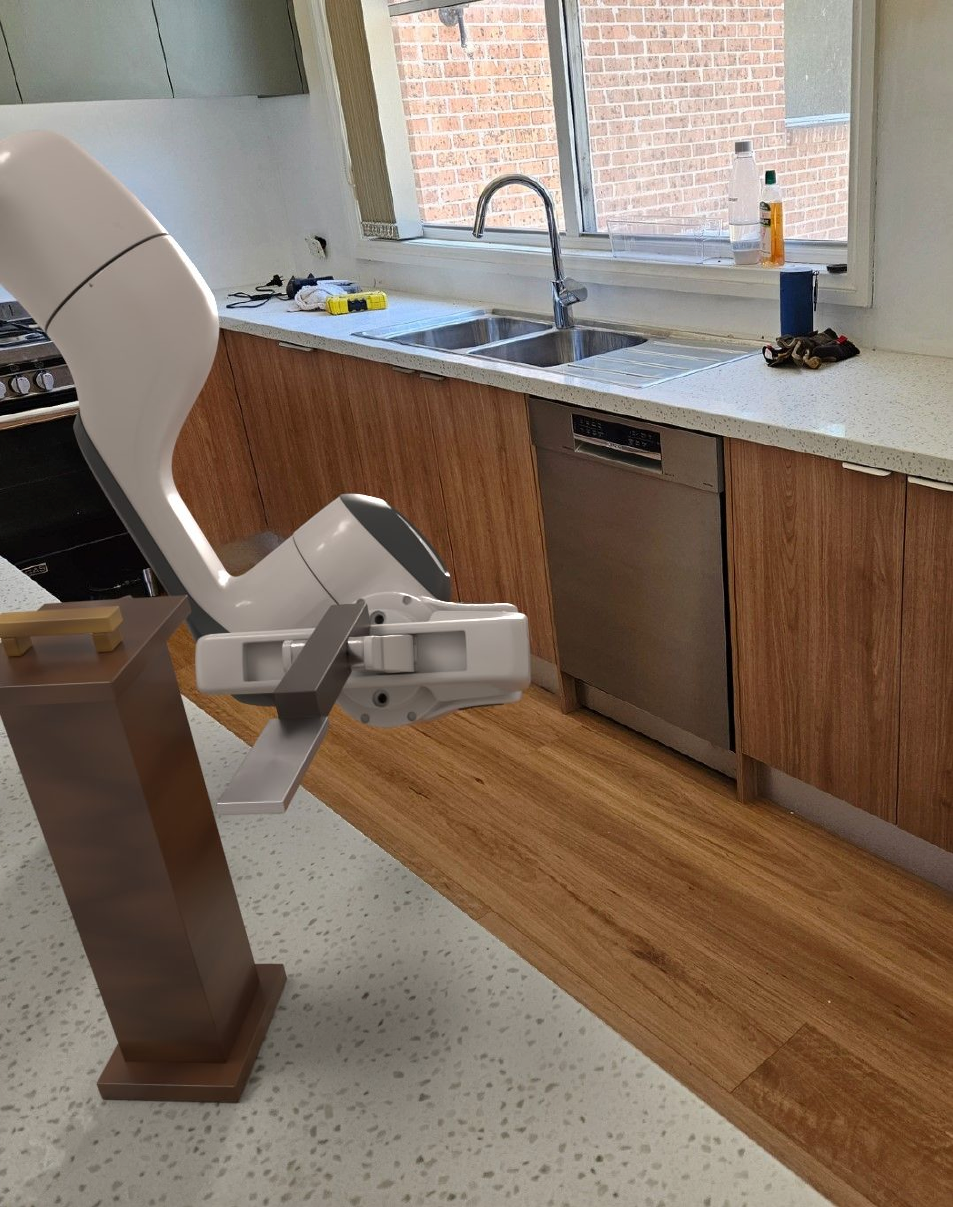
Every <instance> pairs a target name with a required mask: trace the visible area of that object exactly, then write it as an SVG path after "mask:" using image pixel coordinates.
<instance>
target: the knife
mask: <svg viewBox="0 0 953 1207" xmlns="http://www.w3.org/2000/svg"><path fill="white" fill-rule="evenodd" d="M370 626H371V623H370V618H369V612H368V606H367V603H355V604H339V605H331V606H330V607H329V609H328V610H327V612H326V613H325V615H324V616H323V618H322V619H321V621H320V622H319V624H318V625H317V627H316V628H315V630H314V631H313V633H312V635H311V636H310V638H309V639H308V641H307V642H306V644H305V645H304V647H303V648H302V650H301V651H300V653H299V654H298V656H297V657H296V659H295V660H294V662H293V663H292V665H291V666H290V668H289V669H288V671H287V672H286V674H285V675H284V677H283V678H282V680H281V682H280V683H279V685H278V686H277V688H276V689H275V691H274V692H273V695H274V700H275V705H276V707H275V709H276V713H277V714H276V715H277V718H270V719H269V720H268V721H267V723H266V725H265V727H264V728H263V730H262V731H261V733H260V734H259V735H258V738H257V739H256V741H255V742H254V744H253V745H252V747H251V748H250V750H249V752H248V753H247V755H246V756H245V758H244V759H243V761H242V762H241V764H240V765H239V767H238V769H237V770H236V772H235V773H234V774H233V777H232V778H231V780H230V782H229V783H228V785H227V786H226V788H225V789H224V791H223V792H222V794H221V796H220V797H219V798H218V800H217V802H216V808H217V813H218V815H219V816H233V815H234V816H236V815H268V814H269V815H271V814H272V815H273V814H285V813H286V812H287V810H288V808H289V806H290V804H291V802H292V801H293V798H294V797H295V795H296V792H297V791H298V790H299V788H300V786H301V784H302V781H303V780H304V778H305V776H306V774H307V772H308V770H309V768H310V766H311V764H312V763H313V760H314V758H315V756H316V755H317V753H318V751H319V749H320V747H321V745H322V743H323V741H324V739H325V738H326V736H327V733H328V732H329V730H330V728H331V724H330V719H329V718H330V717H329V715H330V713H331V712H332V709H333V707H334V705H335V704H336V700H337V698H338V696H339V694H340V693H341V691H342V689H343V687H344V685H345V683H346V681H347V680H348V678H349V676H350V674H351V672H352V670H349V668H348V663H347V657H348V655H349V652H348V651H347V639H348V638H349V637H363V636H370Z"/></svg>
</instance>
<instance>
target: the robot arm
mask: <svg viewBox="0 0 953 1207" xmlns="http://www.w3.org/2000/svg"><path fill="white" fill-rule="evenodd" d="M149 210H150V209H148V208H147V207H146V206H145V205H144V204H143V203H142V201H140V199H139V198H137V196H136V195H135V194H134V193H133V192H132V191H131V190H130V189H129V188H128V187H127V186H126V185H125V184H124V183H122V181H120V180H119V179H118V177H116V175H115V174H114V173H112V172H111V171H110V170H109V169H108V168H106V166H104V164H102V163H101V162H100V161H99V160H98V159H97V158H95V157H94V155H92V154H90V153H89V151H87V150H86V149H85V148H83V147H82V146H81V145H80V144H79V143H78V142H76V141H75V140H73V139H72V138H70V137H69V136H66V135H64V134H63V133H61V132H57V131H53V130H48V129H30V130H29V129H28V130H25V131H21V132H16V133H14V134H11V135H9V136H7V137H5V138H2V139H1V140H0V286H1V287H2V288H3V289H4V290H5V291H6V292H8V294H10V295H11V296H12V297H13V298H14V299H15V300H16V301H17V302H18V303H19V304H20V305H21V306H22V308H23V309H24V310H25V311H26V312H27V313H28V314H29V316H30V317H31V318H32V319H33V321H34V322H35V323H36V324H37V325H38V326H39V328H40V329H41V330H42V331H43V332H44V333H45V334H46V335H47V337H48V338H49V339H50V340H51V342H53V344H54V345H55V347H56V348H57V349H58V351H59V353H60V354H61V356H62V358H63V359H64V361H65V363H66V366H67V367H68V370H69V372H70V375H71V377H72V380H73V383H74V386H75V390H76V395H77V400H78V410H77V413H76V416H75V419H74V422H73V426H72V428H73V432H74V435H75V438H76V441H77V444H78V446H79V449H80V452H81V454H82V456H83V457H84V459H85V461H86V463H87V465H88V467H89V469H90V471H91V472H92V474H93V477H94V478H95V480H96V481H97V483H98V485H99V487H100V488H101V490H102V491H103V493H104V495H105V497H106V498H107V500H108V501H109V503H110V505H111V506H112V508H113V510H115V513H116V515H117V516H118V518H119V519H120V520H121V522H122V524H123V525H124V527H125V529H126V530H127V532H128V533H129V535H130V537H131V538H132V540H133V541H134V543H135V545H136V546H137V548H138V549H139V550H140V553H141V554H142V556H143V557H144V558H145V560H146V562H147V563H148V565H149V566H150V568H151V570H152V571H153V573H154V574H155V576H156V578H157V580H159V582H160V584H161V585H162V587H163V589H164V590H165V592H167V595H168V596H181V595H187V597H188V601H189V604H190V608H191V613H190V614H189V615H188V617H187V618H186V619H185V620H184V621H183V622H184V623H185V624H186V628H187V630H188V631H189V633H190V635H191V637H192V639H193V641H194V643H195V651H194V668H195V670H194V671H195V682H196V687H197V689H198V691H199V692H200V693H201V694H203V695H207V696H231V697H232V698H233V699H234V700H236V701H237V702H239V703H241V704H245V705H249V706H256V707H265V708H266V707H268V708H271V707H273V708H276V705H275V700H274V695H273V692H274V691H275V689H276V688H277V686H278V685H279V683H280V682H281V680H282V678H283V677H284V675H285V674H286V672H287V671H288V669H289V668H290V666H291V665H292V663H293V662H294V660H295V659H296V657H297V656H298V654H299V653H300V651H301V650H302V648H303V647H304V645H305V644H306V642H307V641H308V639H309V638H310V636H311V635H312V633H313V631H314V630H315V628H316V627H317V625H318V624H319V622H320V621H321V619H322V618H323V616H324V615H325V613H326V612H327V610H328V609H329V607H330V606H331V605H339V604H355V603H367V606H368V612H369V618H370V623H371V626H370V636H363V637H349V638H348V639H347V651H348V652H349V655H348V657H347V663H348V668H349V670H352V672H351V674H350V676H349V678H348V680H347V681H346V683H345V685H344V687H343V689H342V691H341V693H340V694H339V696H338V698H337V700H336V702H335V704H336V705H337V706H338V707H339V708H340V709H341V710H342V711H343V712H345V714H347V715H348V716H349V717H351V718H352V719H354V720H356V721H358V722H360V723H362V724H364V725H367V726H371V727H376V728H386V729H391V728H399V727H405V726H411V725H416V724H420V723H429V722H433V721H439V720H441V719H443V718H447V717H448V716H451V715H453V714H456V713H458V712H459V711H465V710H469V709H474V708H475V709H476V708H482V707H492V706H493V707H494V706H504V705H505V704H516V703H519V702H520V701H522V699H523V693H524V692H523V691H524V690H526V689H528V688H529V687H530V685H531V683H532V668H531V643H530V642H531V641H530V627H529V618H528V616H527V615H525V614H524V613H521V612H519V609H518V606H516V605H514V604H511V603H497V602H461V601H460V602H459V601H454V602H451V599H452V584H451V583H452V582H451V576H450V571H449V570H448V568H447V566H446V564H445V562H444V561H443V559H442V558H441V556H440V555H439V553H438V552H437V550H436V549H435V548H434V546H433V545H432V544H431V543H430V541H429V540H428V538H426V536H425V535H424V534H423V533H422V532H421V531H420V529H418V527H416V525H414V523H412V521H410V520H409V519H408V518H407V517H406V516H405V515H404V514H402V512H400V511H399V510H397V508H394V506H392V505H391V504H389V503H388V502H387V501H386V500H384V499H381V498H377V497H373V496H368V495H365V494H359V493H343V494H340V495H339V496H338V497H336V498H335V499H334V500H332V501H331V502H330V503H329V504H327V505H326V506H324V507H323V508H322V509H320V511H318V512H317V513H316V514H314V515H313V516H312V517H310V518H309V519H308V520H307V521H306V522H305V523H304V524H302V525H301V526H300V527H299V528H298V529H296V530H295V531H294V532H293V534H292V535H290V536H289V537H288V538H287V539H286V540H284V541H283V542H282V543H280V545H278V546H277V547H276V548H275V549H274V550H273V551H271V552H269V554H268V555H266V556H265V557H263V558H262V559H261V560H260V561H259V562H257V563H256V564H255V565H254V566H253V567H252V568H250V569H249V570H248V571H246V572H245V573H243V574H240V575H237V576H234V575H231V574H230V573H229V572H228V571H227V570H226V568H225V567H224V565H223V563H222V562H221V560H220V559H219V557H218V556H217V553H216V552H215V550H214V549H213V547H212V545H211V544H210V542H209V541H208V539H207V538H206V536H205V534H204V533H203V531H202V529H201V528H200V527H199V526H200V525H199V524H198V523H197V522H196V520H195V518H194V517H193V515H192V513H191V511H190V510H189V509H188V507H187V505H186V504H185V502H184V501H183V499H182V497H181V495H180V493H179V491H178V490H177V487H176V485H175V481H174V478H173V468H172V466H173V455H174V450H175V447H176V443H177V439H178V437H179V434H180V432H181V430H182V428H183V426H184V424H185V422H186V420H187V417H188V416H189V415H190V412H191V410H192V409H193V406H194V404H195V403H196V401H197V399H198V397H199V395H200V393H201V391H202V389H203V388H204V386H205V384H206V382H207V379H208V377H209V375H210V373H211V370H212V368H213V364H214V361H215V357H216V354H217V350H218V345H219V337H220V319H219V312H218V306H217V303H216V299H215V296H214V294H213V292H212V291H211V289H210V288H209V286H208V284H207V283H206V281H205V279H204V278H203V277H202V275H201V274H200V272H199V271H198V269H197V267H196V266H195V265H194V263H192V261H191V259H190V258H189V257H188V255H187V254H186V253H185V252H184V250H183V249H182V247H181V246H180V245H179V244H178V243H177V242H176V240H175V239H174V238H173V236H171V235H170V233H169V232H168V230H166V228H165V227H164V226H163V225H162V224H161V223H160V222H159V220H158V219H157V218H156V217H155V216H154V215H153V213H151V211H149Z"/></svg>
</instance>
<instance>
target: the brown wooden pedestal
mask: <svg viewBox="0 0 953 1207" xmlns="http://www.w3.org/2000/svg"><path fill="white" fill-rule="evenodd" d="M190 613H191V608H190V604H189V601H188V597H187V595H181V596H169V595H168V596H167V595H166V596H150V597H133V598H131V599H119V598H116V599H99V600H98V599H97V600H82V601H66V602H51V603H50V602H48V603H44V604H42V605H41V606H40V607H39V608H38V609H37V610H28V611H27V610H26V611H11V612H1V613H0V719H1V722H2V725H3V727H4V730H5V733H6V735H7V738H8V741H9V744H10V746H11V749H12V750H11V751H12V752H13V754H14V758H15V761H16V764H17V766H18V769H19V772H20V775H21V777H22V780H23V783H24V785H25V788H26V791H27V794H28V797H29V799H30V803H31V806H32V807H33V810H34V813H35V817H36V819H37V822H38V824H39V828H40V831H41V833H42V835H43V836H42V837H43V838H44V841H45V844H46V846H47V850H48V852H49V855H50V858H51V860H52V864H53V866H54V869H55V872H56V874H57V877H58V880H59V884H60V885H61V888H62V891H63V894H64V896H65V900H66V902H67V905H68V908H69V911H70V914H71V916H72V919H73V921H74V924H75V927H76V930H77V933H78V936H79V939H80V941H81V944H82V947H83V950H84V951H85V955H86V958H87V960H88V963H89V967H90V970H91V971H92V975H93V977H94V980H95V982H96V986H97V988H98V991H99V994H100V997H101V999H102V1002H103V1006H104V1007H105V1010H106V1014H107V1016H108V1019H109V1022H110V1025H111V1027H112V1030H113V1034H114V1036H115V1038H116V1041H117V1044H116V1046H115V1047H114V1049H113V1051H112V1053H111V1055H110V1057H109V1059H108V1060H107V1063H106V1065H105V1067H104V1068H103V1070H102V1072H101V1074H100V1075H99V1078H98V1079H97V1081H96V1087H97V1089H98V1092H99V1095H100V1097H101V1099H102V1100H127V1101H128V1100H129V1101H130V1100H131V1101H133V1100H135V1101H170V1102H171V1101H173V1102H204V1103H205V1102H207V1103H209V1102H211V1103H240V1101H241V1099H242V1096H243V1093H244V1091H245V1089H246V1086H247V1083H248V1080H249V1078H250V1075H251V1072H252V1070H253V1067H254V1065H255V1062H256V1059H257V1057H258V1054H259V1052H260V1049H261V1046H262V1044H263V1042H264V1039H265V1037H266V1034H267V1031H268V1029H269V1026H270V1024H271V1021H272V1019H273V1016H274V1013H275V1011H276V1008H277V1005H278V1003H279V1000H280V998H281V995H282V992H283V990H284V987H285V985H286V982H287V979H288V977H287V972H286V968H285V965H284V963H255V962H256V961H255V959H254V955H253V951H252V947H251V944H250V941H249V936H248V933H247V929H246V926H245V922H244V919H243V915H242V911H241V908H240V904H239V901H238V897H237V893H236V889H235V885H234V883H233V878H232V875H231V872H230V867H229V864H228V860H227V857H226V853H225V849H224V847H223V842H222V838H221V835H220V831H219V827H218V825H217V824H218V823H217V820H216V817H215V812H214V809H213V807H212V802H211V799H210V796H209V792H208V788H207V784H206V781H205V776H204V773H203V770H202V766H201V761H200V759H199V754H198V751H197V748H196V745H195V741H194V736H193V734H192V731H191V726H190V722H189V720H188V715H187V711H186V707H185V704H184V700H183V697H182V692H181V690H180V685H179V682H178V678H177V675H176V671H175V668H174V664H173V660H172V657H171V656H172V655H171V654H170V649H169V645H168V640H169V639H170V638H171V637H172V636H173V635H174V634H175V632H177V630H178V629H179V628H180V627H181V625H182V624H183V623H184V622H185V621H184V620H185V619H186V618H187V617H188V615H189V614H190Z"/></svg>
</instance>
